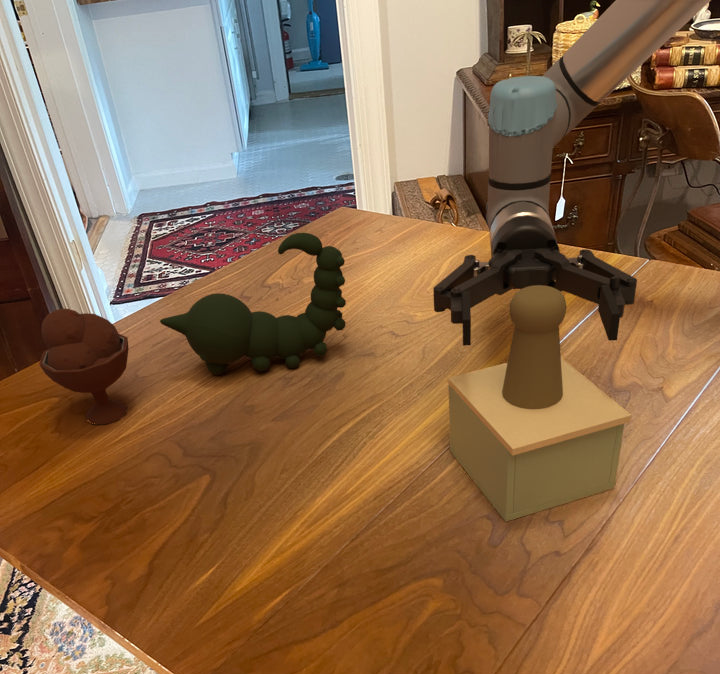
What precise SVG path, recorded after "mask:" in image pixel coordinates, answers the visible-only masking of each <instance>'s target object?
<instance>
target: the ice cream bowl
mask: <svg viewBox="0 0 720 674" xmlns="http://www.w3.org/2000/svg"><path fill="white" fill-rule="evenodd" d="M41 337H42V341H43V342H44V345H45V346H46V347H47V348H46V349H45V350H44V351H42V354H41V357H40V361H39V364H38V365H39V366H40V368H41V370H42V371H43V373H44V374H45V375H46V376H47V377H48V378H50V380H52V381H53V383H56V384H57V385H59V386H61V387H63V388H64V389H67V390H69V391H72V392H74V393H81V394H88V393H91V395H92V396H93V400H94V402H95V404H94V405H92V406H91V407H90V408H89V409H88V410H86V415H85V420H86V419H87V420H89V421H90V422H91V423H93V424H94V423H95V424H107V423H109V424H111V423H110V422H112V423H114V422H113V421H115V422H117V421H116V420H118V419H119V420H121V419H122V418H123V417H124V416H126V415H127V414H126V408H127V409H128V406H127V405H126V403H124V402H122V400H121V401H120V400H118V399H110V398H109V395H108V393H107V389H108V388H109V387H111V386H112V385H113V384H114V383H115V382H116V381H118V380H119V379H120V378H121V377H122V375H123V374H124V372H126V369H127V364H128V356H129V349H130V348H129V339H128V336H125V335H123V334H121V333H119V331H118V330H117V328H116V326H115V325H114V324H113V323H112V322H111V321H110V320H109V319H106V318H104V317H102V316H100V315H98V314H96V313H88V312H87V313H79V312H78V311H76V310H74V309H70V308H58V309H55V310H53V311H51V312H50V313H48V314H47V315H46V316H45V317H44V319H43V320H42V322H41ZM125 414H126V415H125ZM123 415H124V416H123ZM122 416H123V417H122ZM121 417H122V418H121ZM120 418H121V419H120ZM119 420H118V421H119ZM107 425H108V424H107Z"/></svg>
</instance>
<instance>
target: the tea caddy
mask: <svg viewBox="0 0 720 674" xmlns="http://www.w3.org/2000/svg"><path fill="white" fill-rule="evenodd" d="M448 424H449V425H448V426H449V427H448V429H449V433H448V435H449V436H448V437H449V452H450V453H451V455H452V456H453V457H454V459H455V460H456V461H457V462H458V464H459V465H460V467H462V468H463V470H464V471H465V472H466V474H468V477H470V479H471V480H472V481H473V482H474V484H475V485H476V486H477V487H478V489H479V490H480V491H481V493H482V494H483V495H484V497H485V498H486V499H487V500H488V502H489V503H490V505H492V506H493V508H494V509H495V511H496V512H497V513H498V515H500V517H501V518H502V520H503V521H504V522H510V521H513V520H516V519H519V518H523V517H526V516H530V515H532V514H536V513H539V512H543V511H545V510H546V511H547V510H549V509H552V508H556V507H558V506H561V505H562V506H563V505H566V504H568V503H572V502H575V501H578V500H581V499H585V498H588V497H591V496H595V495H599V494H600V493H605V492H608V491H610V490H613V489H616V480H617V473H618V468H619V461H620V454H621V448H622V442H623V435H624V429H625V423H624V424H621V425H617V426H614V427H610V428H607V429H603V430H600V431H596V432H593V433H589V434H586V435H583V436H579V437H576V438H572V439H569V440H565V441H562V442H558V443H555V444H551V445H548V446H544V447H541V448H537V449H534V450H531V451H527V452H524V453H520V454H517V455H513V456H512V455H511V453H510V452H509V451H508V450H507V449H506V448H505V447H504V446H503V445H502V443H501V442H500V441H499V440H498V439H497V438H496V437H495V436H494V434H493V433H492V432H491V431H490V430H489V429H488V428H487V427H486V426H485V424H484V423H483V422H482V421H481V420H480V419H479V418H478V417H477V416H476V414H475V413H474V412H473V411H472V410H471V409H470V408H469V407H468V405H467V404H466V403H465V402H464V401H463V400H462V399H461V398H460V397H459V395H458V394H457V393H456V392H455V391H454V390H453V389H452V388H451V387H450V385H449V384H448Z"/></svg>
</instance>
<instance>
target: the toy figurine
mask: <svg viewBox="0 0 720 674" xmlns="http://www.w3.org/2000/svg"><path fill="white" fill-rule="evenodd" d="M289 250H299V251H301V252H304V253H305V254H307V255H309V256H313V257H315V262H316V268H315V270H314V272H313V283H314V286H313V287H312V289H311V291H310V302H309V303H308V304H307V306H306V308H305V310H304V312H301V313H299V314H297V316H294V315H289V314H284V315H280V316H278V317H276V316H275V315H274V314H272V313H270V312H267V311H262V310H261V311H259V310H258V311H253V312H252V310H251V309H250V308H249V307H248V306H247V304H246V303H244V302H243V300H240V299H239V298H237V297H236V296H233V295H230V294H226V293H221V292H220V293H218V292H217V293H216V292H215V293H211V294H208V295H205V296H203V297H201V298H200V299H198V300H197V301H195V302H194V303H193V304H192V306H191V307H190V308H189V310H188V311H187V312H184V313H181V314H177V315H172V316H167V317H164V318H161V319H160V320H159V323H160V324H161V325H162V326H164V327H167V328H169V329H170V330H172V331H176V332H178V333H179V334H181V335H183V336H185V338H186V340H187V343H188V345H189V346H190V348H191V349H192V350H193V352H194V353H195V354H196V355H197V356H198V357H199V358H200V359H201V360H202V361H203V362H205V366H206V369H207V370H208V372H209V373H210V374H212V375H216V376H218V375H222V374H224V373H225V372H226V371H227V370H228V369H229V364H231V363H235V362H237V361H239V360H241V359H242V358H243V357H246V358H247V359H250V361H251V364H252V367H253V370H256V371H257V372H264V371H266V370H268V369H269V368H270V366H271V360H272V359H273V358H275V357H276V358H278V359H280V360H285V363H284V364H285V365H286V366H287V367H288V368H289V369H296V368H297V367H299V366H300V363H301V362H300V361H301V358H300V357H301V356H303V355H304V353H306V351H307V350H312V351H313V353H314V354H315V356H318V357H322V356H325V355H326V354H327V352H328V350H329V349H328V346H327V344H326V342H324V340H325V339H326V337H327V333H328V332H329V331H332V329H333V328H334V329H335V330H336V331H343V330H344V329H345V328H346V321H345V319H344V318H343V312H342V311H341V310H339V309H342V308H344V307H345V306H346V305H347V301H346V299H345V298H344V297H343V290H342V289H341V288H340V287H342V286H344V285H345V283H346V278H345V276H344V274H343V271H342V267H343V266H344V265H345V261H346V260H345V258H344V256H343V253H342V251H341V250H340V249H338V248H337V247H336V246H332V245H325V246H324V247H323V243H322V241H321V239H320V238H319V236H317V235H314V234H313V233H308V232H296V233H293V234H290V235H288V236H287V237H286V238H284V239H283V240H282V242H281V243H280V244H279V246H278V248H277V253H278V254H279V255H284V253H286V252H287V251H289ZM338 308H339V309H338Z"/></svg>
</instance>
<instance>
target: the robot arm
mask: <svg viewBox="0 0 720 674" xmlns="http://www.w3.org/2000/svg"><path fill="white" fill-rule="evenodd" d="M711 1H712V0H615V1H614V2H612V4H611V5H610V6H609V7H608V8H606V10H605V11H604V12H603V13H602V14H601V15H600V16H599V17H598V18H597V19H596V20H595V21H594V22H593V23H592V24H591V25H590V26H589V27H588V28H587V29H586V31H584V32H583V33H582V34H581V36H580V37H579V38H578V39H577V40H576V41H575V42H574V43H573V44H572V45H571V46H570V47H569V48H568V49H567V50H566V51H565V52H564V54H563V55H561V56H560V58H558V59H557V60H556V61H555V62H554V63H553V64H552V65H551V66H550V67H549V68H548V70H546V72H545V73H543V75H542V76H541V75H527V76H526V75H524V76H514V77H510V78H507V79H502V80H499V81H498V82H497V83H495V84H493V86H492V89H491V91H490V98H489V99H490V100H489V111H488V115H487V124H488V181H487V203H486V207H485V208H486V213H485V218H486V219H485V220H486V224H487V226H488V232H489V233H488V234H489V235H488V236H489V245H490V258H489V260H488V261H480V259H476V255H474V254H468V255H465V256H464V258H463V262H462V263H461V264H460V265H459V266H458V267H457V268H455V269H454V270H453V271H452V272H450V273H449V274H448V275H447V276H445V277H444V278H443V279H442V280H441V281H439V283H437V284H436V285H435V286H433V311H434V312H436V313H443V312H445V311H446V310H449V311H450V322H451V323H452V325H458V324H459V325H460V324H461V325H462V346H464V347H465V346H472V318H471V317H472V313H471V309H472V308H473V307H475V306H477V305H479V304H480V303H482V302H484V301H486V300H488V299H489V298H491V297H493V296H495V295H497V296H502V295H504V294H506V293H508V292H509V291H511V290H520V289H523V288H525V287H528V286H534V285H543V286H549V287H553V288H555V289H557V290H559V291H560V292H561V293H562V292H565V293H568V294H570V295H573V296H576V297H578V298H581V299H583V300H586V301H589V302H591V303H593V304H597V305H598V309H597V311H598V314H599V317H600V320H601V323H602V325H603V328H604V332H605V335H606V337H607V340H608V342H609V341H618V335H619V328H620V320H621V319H623V317H624V312H625V305H626V306H630V305H634V303H635V299H636V298H635V297H636V291H637V284H638V278H636V277H635V276H632V275H631V274H629V273H627V272H625V271H623V270H621V269H619V268H617V267H616V266H613V265H612V264H609V263H608V262H606V261H604V260H602V259H600V258H598V257H597V256H595V254H594V253H593V252H592V251H591V249H585V248H584V249H580V251H579V254H578V255H577V256H576V257H575V256H574V257H567V256H566V255H565V254H564V253H563V252H561V251H560V246H559V243H558V240H557V236H556V233H555V229H554V227H553V224H552V219H551V217H550V213H549V209H550V208H549V206H550V192H551V179H552V178H551V177H552V163H553V161H552V160H553V149H554V148H555V147H556V145H558V144H559V143H560V142H561V141H562V139H563V138H564V137H566V136H567V135H568V134H570V133H571V132H572V131H573V130H574V129H575V128H576V127H577V126H578V125H579V124H581V122H582V121H583V120H584V119H585V118H586V117H587V116H589V114H590V113H592V112H593V111H594V110H595V109H596V108H597V107H598V106H599V104H600V103H602V102H603V101H604V100H605V99H606V98H607V97H608V96H609V95H610V94H612V92H614V91H615V90H616V89H617V88H618V87H619V86H620V85H621V84H622V83H623V82H625V81H626V79H628V78H630V76H631V75H632V74H633V73H634V72H635V71H636V70H638V69H639V68H640V67H641V66H642V65H643V64H644V63H645V62H646V61H647V60H648V59H649V58H651V56H653V55H654V54H655V53H656V52H657V51H658V50H659V49H660V48H661V47H662V46H663V45H664V44H666V43H667V42H668V41H669V40H670V39H671V38H672V37H673V36H674V35H675V34H676V33H678V32H679V31H680V30H681V29H682V28H683V27H684V26H685V25H686V24H687V23H688V22H689V21H690V20H692V19H693V18H694V17H695V16H696V15H697V14H698V13H699V12H700V11H701V10H702V9H703V8H705V7H706V6H707V5H708V4H709V3H710V2H711Z"/></svg>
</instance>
